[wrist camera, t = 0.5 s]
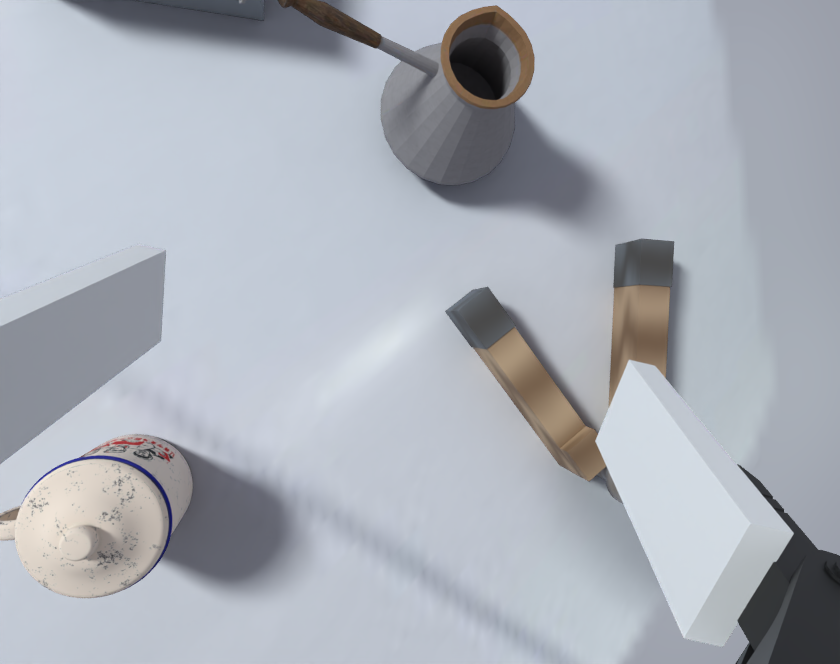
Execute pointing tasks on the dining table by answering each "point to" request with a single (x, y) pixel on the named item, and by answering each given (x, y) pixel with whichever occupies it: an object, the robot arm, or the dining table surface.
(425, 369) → the dining table surface
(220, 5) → the frame
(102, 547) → the teacup with lid
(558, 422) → the bar
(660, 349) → the tongs lower arm
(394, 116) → the coffee pot
